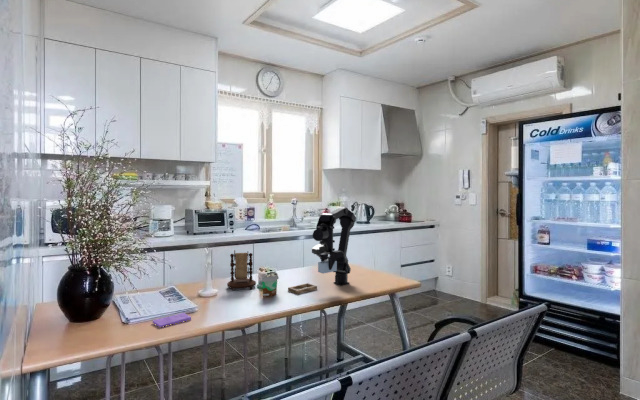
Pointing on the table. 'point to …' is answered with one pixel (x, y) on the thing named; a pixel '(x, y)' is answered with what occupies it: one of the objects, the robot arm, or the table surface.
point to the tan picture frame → (302, 288)
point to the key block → (326, 267)
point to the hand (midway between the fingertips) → (327, 269)
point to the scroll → (241, 272)
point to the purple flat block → (172, 319)
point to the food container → (270, 284)
